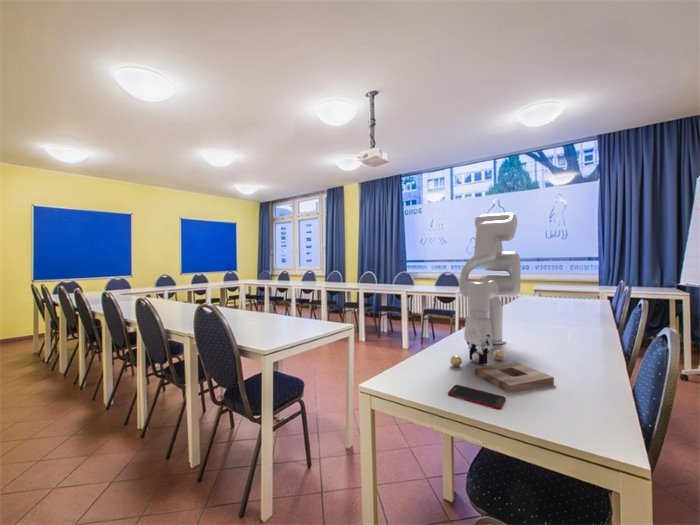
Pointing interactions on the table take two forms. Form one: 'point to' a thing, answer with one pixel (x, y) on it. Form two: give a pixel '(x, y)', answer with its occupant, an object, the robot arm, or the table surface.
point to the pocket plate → (522, 381)
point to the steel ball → (476, 356)
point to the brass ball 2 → (498, 355)
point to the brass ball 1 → (456, 361)
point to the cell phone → (477, 396)
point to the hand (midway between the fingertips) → (478, 361)
